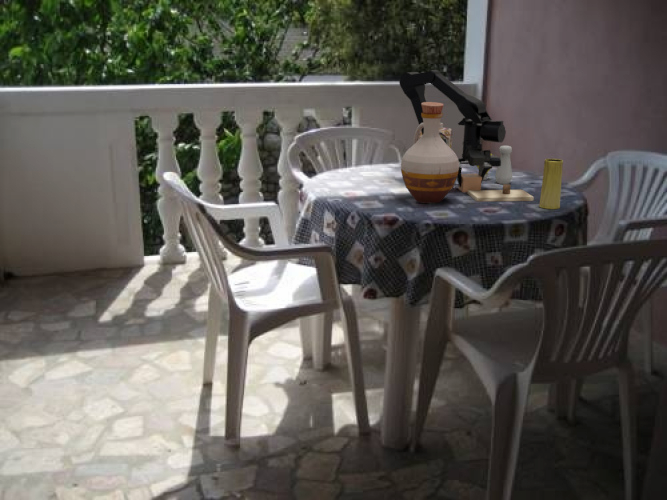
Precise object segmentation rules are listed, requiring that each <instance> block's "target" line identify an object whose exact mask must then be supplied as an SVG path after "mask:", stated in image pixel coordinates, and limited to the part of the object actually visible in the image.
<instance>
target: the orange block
mask: <svg viewBox="0 0 667 500" xmlns="http://www.w3.org/2000/svg"><path fill="white" fill-rule="evenodd" d="M481 180H482V177H481V176H479V175H478V173H461V181H462V183H461V187H459V184H458V188H457V189H458V190H459V191H460V192H462V193H468V190H482V183H481Z"/></svg>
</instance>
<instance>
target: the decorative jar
mask: <svg viewBox="0 0 667 500" xmlns="http://www.w3.org/2000/svg"><path fill="white" fill-rule="evenodd" d="M422 136H423V135H422V132H421V131H420V134H419V138H418V140H419V139H420V138H421V137H422ZM439 136H440V137H441V138H442V139H446V141H447V145H448V146H449V147H450V148H451V149H452V150H453V147H452V145H453V129H452V128H449V127H445V126H444V123H443V122H440V125H439Z"/></svg>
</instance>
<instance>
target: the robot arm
mask: <svg viewBox="0 0 667 500" xmlns="http://www.w3.org/2000/svg"><path fill="white" fill-rule="evenodd" d="M398 82H399V86H400V88H401V90H402V92H403V93H404V95H405V96H406V97H407V98H408V99H409V100H410V102H411V103H410V104H411V106H412V108H413V112H414V114H415V117H416V120H417V122H418V126H419V125H420V124H421V123H423V117H422V116H421V113H423V110H422V105H421V103H423V102H427V100H426V98H425V92H426V91H425V90H426V85H428V84H431V85H432V86H433V87H434V88H436V89H437V90H438V91H439V92H440V93H442V95H444V96H445V97H446V98H448V99H449V100H450V101H452V102H453V103H454V105H456V108H457V110H458V111H459V112H460V114H461V115H462V116H463V118H462V119H461V120H460V121H458V123H457V125H458V126H464V127H463V140H462V154H461V157H457V158H458V161H459V170H458V175H457V178H456V181H457V183H458V184H459V187H461V183H462V181H461V174H462V170H463V169H462V167H461V165H469V166H471V167H477V166H478V165H479V169H478V173H477V174H478V175H479V176H481V177H482V180H481V184H482V183H483V181H484V180H483V178H484V176H485V174H486V172H487V171H488V170H489V169H490V170H491V169H493V167H498V166H501V159H500V156H497V155H496V154H492V152H491V149H485V150H483V146H482V145H483V144H482V140H483V142H492V143H493V142H494V143H500V144H501V143H503V141H504V140H505V138H506V134H507V133H506V132H507V130H506V127H505V125H504V121H503V120H492V117H491V116H490V114H489V112H488V110H487V109H486V106H487V105H486V103H484V102H483V100H480V99H478V98H477V97H475V96H473V95H469V94H467V93H466V92H464V91H463V90H462V89H460V88H459V87H458V86H456V85H455V83H454V82H453V81H451V80H449V79H448V78H447V77H445V76H444V75H443V74H442V73H441V71H439V70H437V69H436V70H435V69H433V70H432V69H431V70H428V71H423V72H417V71H411V72H405V73H403V74H402V75H401V76H400V77H399V81H398ZM421 132H422V135H423V134H424V127H423V128H422V129H421ZM442 140H443V141H444V142H445V143H446V144H447V141H446V139H442ZM491 154H492V155H491ZM491 166H492V167H491ZM490 170H489V171H490Z"/></svg>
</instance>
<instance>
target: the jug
mask: <svg viewBox="0 0 667 500" xmlns="http://www.w3.org/2000/svg"><path fill="white" fill-rule="evenodd" d="M421 105H422V110H423V113H421V116H422V117H423V123H421V124H420V125H419V124H418V125H417V127H416V130H415V132H414V135H413V145H411V147H409V148H408V149H407V150H406V151H405V152H404V154H403V156H402V157H401V162H400V170H401V176H402V180H403V183H404V186H405V188H406V190H407V191H408V193H409V194H410V195H411V196H412V197H413V199H414V200H415V201H416V202H417V203H422V204H423V203H424V204H438V203H441V202H442V201H443V200H444V199H445V198H446V197H447V195H448V194H449V193H450V192H451V190H452V189H453V188H454V186H455V183H456V181H457V175H458V170H459V161H458V158H459V157H458V156H457V154H456V153H455V151H454V150H453V148H452V149H451V148H450V147H449V146H448V145H447V144H446V143H445V142H444V141H443V140H442V138H441V137H440V136H439V125H440V123H441V120H442V118H443V116H444V113H443V108H444V106H445V104H444V103H442V102H434V101H426V102H423V103H421ZM423 127H424V134H423V136H422V137H421V138H420V139H419V134H420V131H421V129H422V128H423Z"/></svg>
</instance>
